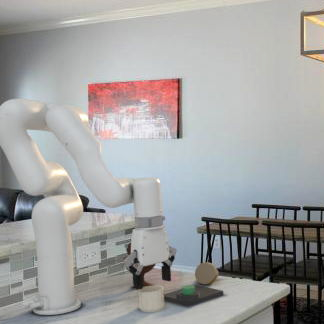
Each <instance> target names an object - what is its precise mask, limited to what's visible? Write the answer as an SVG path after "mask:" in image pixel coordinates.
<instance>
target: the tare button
mask: <svg viewBox="0 0 324 324" xmlns="http://www.w3.org/2000/svg"><path fill="white" fill-rule="evenodd" d="M181 289H182V294H183V295H191V294H195V288H194V285H192V284H188V285H182V286H181Z"/></svg>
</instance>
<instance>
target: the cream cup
mask: <svg viewBox="0 0 324 324" xmlns="http://www.w3.org/2000/svg"><path fill="white" fill-rule="evenodd" d="M137 293H138V295H137V296H138V309H139V310H140V311H141V312H144V313H153V312H154V313H155V312H159V311H161V310H163V309H164V307H165V300H164V294H165V288H164V286H162V285H150V286H146V287H143V288H142V289H137Z"/></svg>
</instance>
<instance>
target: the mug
mask: <svg viewBox="0 0 324 324" xmlns="http://www.w3.org/2000/svg"><path fill="white" fill-rule="evenodd" d="M218 277H219V270H218V269H217V267H216V266H215V264H213V263H212V262H208V261H204V262H202V263H200V264H199V265H197V266H196V268H195V270H194V278H195V279H196V281H197V283H199V284H201V285H204V286H207V285H212V284H214V282H215V281H216V280H217V278H218Z"/></svg>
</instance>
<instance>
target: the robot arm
mask: <svg viewBox="0 0 324 324" xmlns="http://www.w3.org/2000/svg"><path fill="white" fill-rule="evenodd" d="M28 130H29V131H40V132H41V131H42V132H49V133H52V134H53V135H54V137H55V138H56V139H57V140H58V142H60V144H61V145H62V146H63V148H64V149H65V150H66V151H67V153H68V154H69V156H70V157H71V158H72V159H73V160H74V162H75V164H76V168H77V171H78V173H79V176H80V177H81V180H82V182H83V183H84V185H85V186H86V187H87V188H88V190H89V191H90V192H91V194H92V195H93V196H94V197H95V199H96V200H97V201H98V202H99V203H100V204H101V205H103V206H104V207H106V208H110V209H114V208H119V207H122V206H126V205H129V204H130V205H131V204H133V214H134V228H133V229H132V232H131V237H130V238H131V239H130V243H131V254H130V255H127V256H128V257H127V256H126V257H127V258H125V259H124V258H123V259H124V260H122V261H123V264H124V266H125V269H126V270H127V271H128V272H129V273H130V274H131V275H132V285H133V287H134V288H133V289H135V288H136V289H135V290H139V289H142V288H143V283H142V274H140V272H141V270H142V269H143V267H144V266H148V265H152V264H155V265H157V264H159V263H161V264H162V265H161V267H160V268H161V280H162V281H165V282H171V281H172V271H171V269H172V268H171V267H172V266H173V263H174V261H175V259H176V255H177V251H178V250H177V248H175V247H173V246H170V245H169V239H168V234H167V230H166V226H165V225H164V221H165V220H166V217H165V216H164V215H163V204H162V201H163V199H162V186H161V180H160V179H159V178H157V177H153V176H152V177H139V178H131V177H119V178H116V177H115V176H114V174H113V173H112V172H111V171H110V169H109V168H108V167H107V165H106V163H105V161H104V159H103V157H102V143H101V141H100V140H99V138H98V137H97V136H96V135H95V134H94V133H93V131H92V130H91V129H90V127H89V116H88V115H87V113H86V112H85V110H84V109H83V108H82V107H79V106H76V105H72V104H67V103H60V104H58V103H53V102H52V103H51V102H45V101H40V100H32V99H27V98H11V99H8V100H5V101H4V102H3V103H1V104H0V148H1V149H2V152H3V153H4V155H5V157H6V159H7V161H8V163H9V165H10V167H11V169H12V171H13V173H14V175H15V178H16V180H17V181H18V183H19V185H20V188H21V189H22V190H23V192H24V193H25V194H27V195H29V196H37V197H38V196H43V197H44V198H42V199H40V200H38V202H37V203H35V205H34V207H33V208H32V211H31V223H32V228H33V232H34V238H35V250H36V266H37V268H36V269H37V271H36V272H37V289H38V294H34V297H33V298H32V299H31V300H25V301H22V302H21V303H20V307H21V309H22V310H26V309H30V310H32V312H33V313H34V314H36V315H40V316H54V315H55V316H56V315H62V314H66V313H71V312H74V311H76V310H78V309H79V308H81V306H82V301H81V300H79V299H77V298H76V296H75V271H74V270H75V269H74V250H73V239H72V235H71V232H70V228H69V227H70V226H73V225H75V224H77V223H78V222H79V221H80V220H81V219H82V217H83V214H84V205H83V202H82V199H81V197H80V196H79V193H78V191H77V189H76V188H75V185H74V184H73V182H72V179H71V177H70V176H69V174H68V172H67V170H66V169H65V168H64V166H62V165H61V164H60V163H58V162H56V161H52V160H45V159H44V157H43V155H42V153H41V152H40V150H39V146H38V144H36V142H35V141H34V140H33V138H32V137H31V135H29V133H28ZM131 263H132V264H134V265H133V266H132V264H131Z"/></svg>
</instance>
